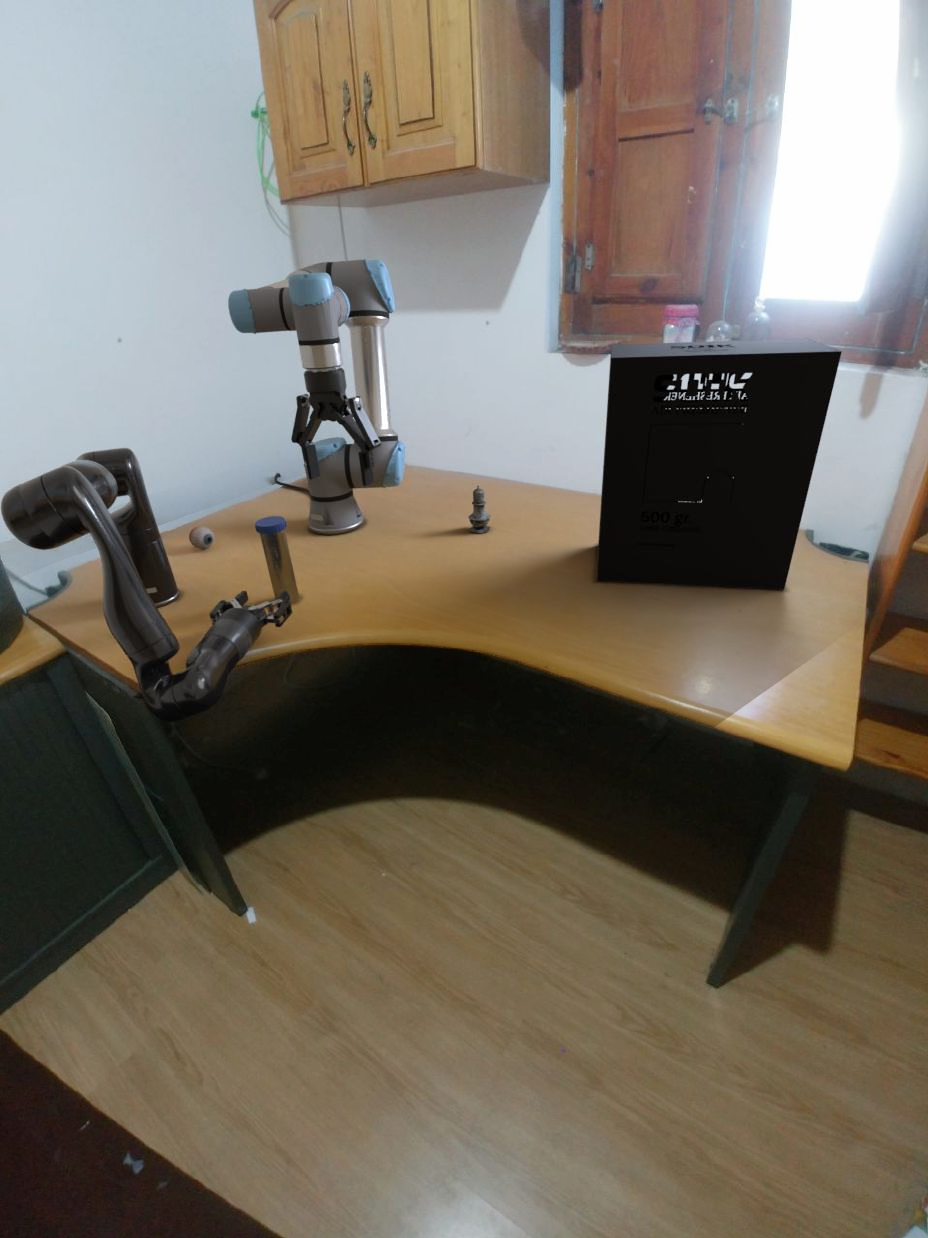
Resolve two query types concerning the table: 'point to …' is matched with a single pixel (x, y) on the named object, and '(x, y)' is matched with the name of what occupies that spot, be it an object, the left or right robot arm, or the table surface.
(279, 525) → the lid
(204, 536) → the eyeball
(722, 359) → the cardboard box
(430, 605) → the table surface
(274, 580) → the bottle
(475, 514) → the grey tall turned piece
